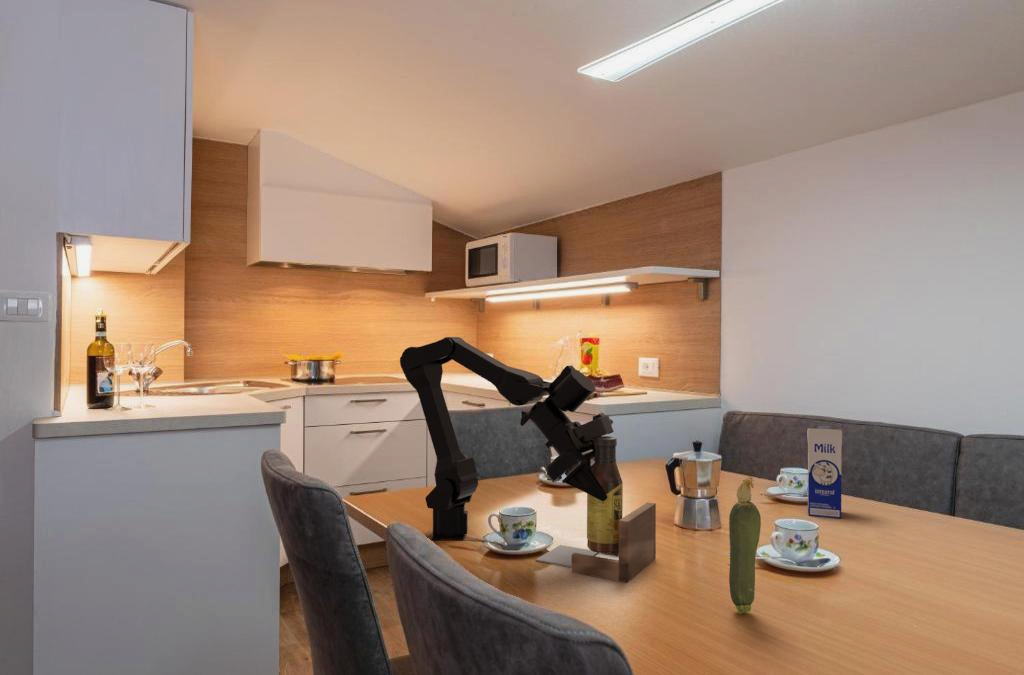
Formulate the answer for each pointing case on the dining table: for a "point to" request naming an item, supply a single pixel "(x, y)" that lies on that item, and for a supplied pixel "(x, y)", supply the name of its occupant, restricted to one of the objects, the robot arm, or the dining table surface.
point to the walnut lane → (625, 548)
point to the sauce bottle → (607, 512)
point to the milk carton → (824, 472)
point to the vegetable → (743, 547)
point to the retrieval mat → (563, 555)
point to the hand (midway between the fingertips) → (612, 496)
